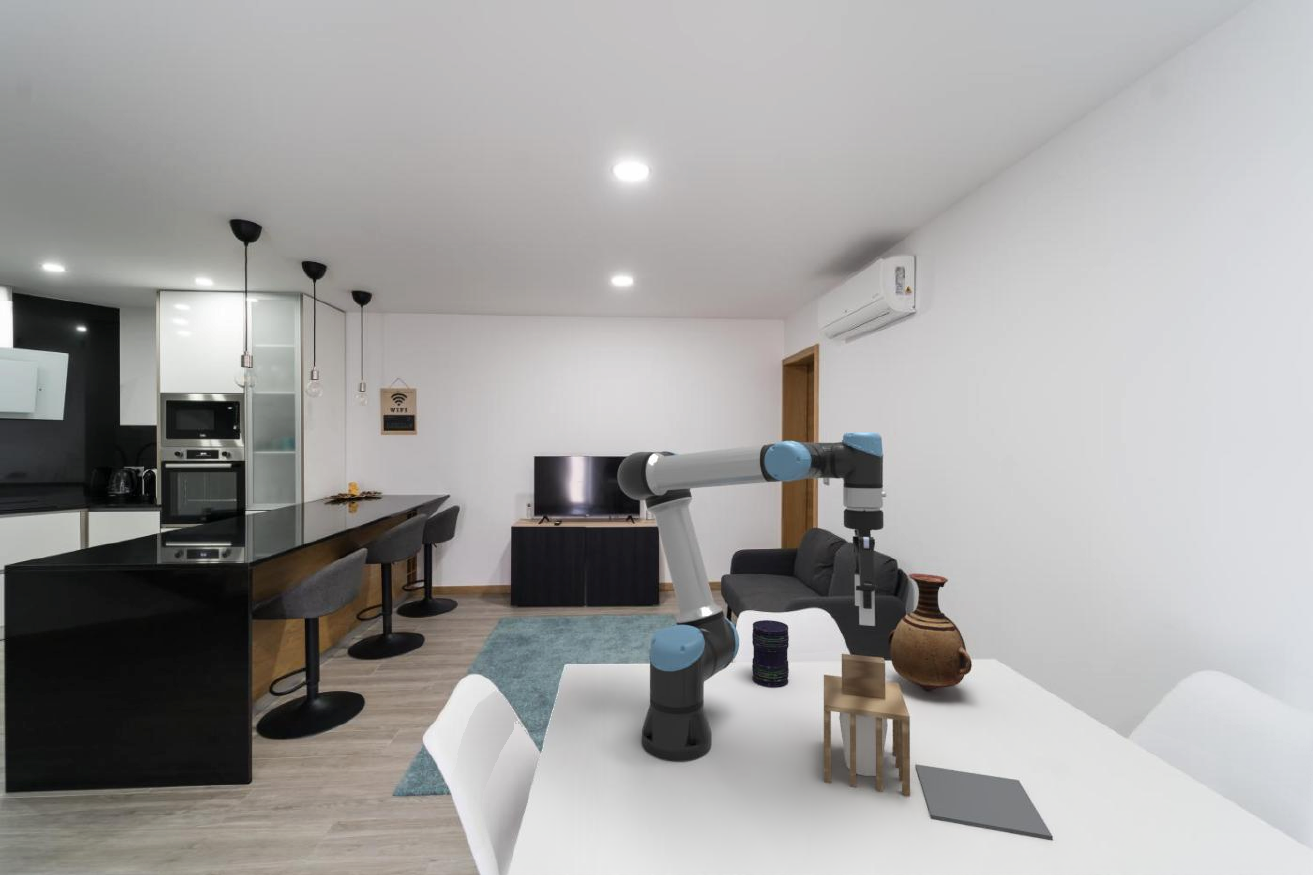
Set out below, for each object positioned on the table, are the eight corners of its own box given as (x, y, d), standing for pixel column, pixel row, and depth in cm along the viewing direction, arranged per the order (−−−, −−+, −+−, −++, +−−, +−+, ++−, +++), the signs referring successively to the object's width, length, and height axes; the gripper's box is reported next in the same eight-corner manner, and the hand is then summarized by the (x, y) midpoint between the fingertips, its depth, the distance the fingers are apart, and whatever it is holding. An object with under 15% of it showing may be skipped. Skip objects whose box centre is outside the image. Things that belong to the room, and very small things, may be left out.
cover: (824, 781, 105) (824, 668, 106) (823, 742, 119) (823, 642, 120) (910, 796, 101) (909, 677, 101) (898, 753, 115) (898, 649, 116)
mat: (930, 818, 95) (930, 814, 95) (915, 767, 110) (915, 764, 110) (1052, 839, 90) (1052, 836, 90) (1018, 783, 105) (1018, 780, 105)
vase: (872, 678, 153) (872, 570, 154) (925, 671, 159) (924, 566, 159) (932, 713, 133) (931, 588, 133) (990, 703, 138) (989, 583, 139)
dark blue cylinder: (767, 670, 159) (767, 617, 159) (796, 681, 151) (796, 626, 151) (744, 679, 152) (744, 624, 153) (773, 691, 145) (773, 633, 145)
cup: (892, 783, 105) (892, 719, 105) (842, 777, 107) (842, 714, 107) (882, 757, 114) (882, 698, 114) (836, 752, 115) (836, 694, 116)
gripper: (890, 516, 98) (892, 636, 98) (877, 503, 122) (878, 600, 122) (846, 514, 100) (847, 632, 100) (841, 502, 124) (842, 597, 124)
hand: (864, 614), depth 111 cm, fingers open, 13 cm apart
